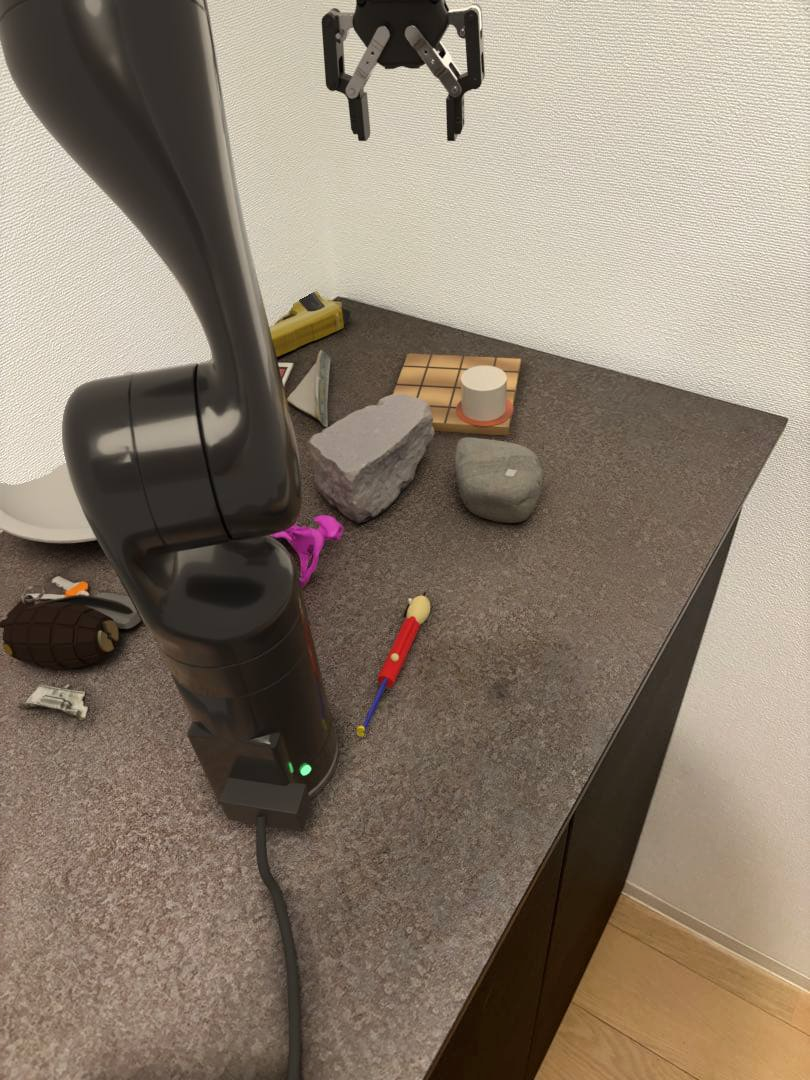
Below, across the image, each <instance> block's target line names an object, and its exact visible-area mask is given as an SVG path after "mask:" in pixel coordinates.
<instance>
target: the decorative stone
mask: <svg viewBox="0 0 810 1080" xmlns="http://www.w3.org/2000/svg"><path fill="white" fill-rule="evenodd" d="M432 422H433V415H432V412H431V409H430V406H429V404H428V403H426V402H425V401H423V400H422V399H419V398H416V397H411V396H409V395H406V394H393V393H392V394H389V395H387V396H384V397H382V398H379V400H378V403H377V404H376V405H375V404H374V405H373V404H371V405H370V404H369V405H366V406H365V407H363V408H362V409H357V410H355V411H353V412H350V413H349V414H347V415H346V416H344V417H343V418H341V419H339V420H337V421H335V422H334V423H333V424H332V423H331V425H330V426H328V427H325V428H323V429H322V430H321V432H317V433H315V434H313V435H312V436H311V437H310V439H309V440H308V442H307V447H308V452H309V455H310V457H311V459H310V460H311V462H312V466H313V469H314V484H315V486H316V488H317V490H318V491H319V494H320V495H321V497H323V498H324V500H325V501H326V502H328V503H329V505H330V506H331V507H332V508H335V509H336V510H337V511H338V512H340V513H341V514H342V515H343V516H344V517H345V518H347V519H349V520H350V521H352V522H354V523H356V524H362V523H365V522H368V521H369V520H371V519H374V518H376V517H377V516H378V515H380V514H381V513H382V512H384V511H386V510H388V509H389V507H390V506H391V505H393V503H394V502H395V501H396V500H397V499H398V498H399V496H400V494H401V493H402V492H403V491H404V490H405V489H407V487H408V486H409V485H411V484H412V483H413V481H414V479H415V478H416V472H417V469H418V465H419V464H420V461H421V460H422V459H423V457H424V456H425V453H426V450H427V446H428V445H429V444H430V443H431V442H432V441H433V440H434V436H435V432H436V431H434V428H433V426H432Z"/></svg>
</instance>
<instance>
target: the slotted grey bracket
mask: <svg viewBox="0 0 810 1080" xmlns="http://www.w3.org/2000/svg"><path fill="white" fill-rule="evenodd" d="M69 687H70V683H65V686H63V687H57V686H53V685H47V684H42V683H40V684H39V685H38V686H37V687H36V689H35V690H34V691H33V692H32V693H31V695H30V696H29V697H28V698H27V700H26V701H25V702H24V703H23V702H19V703H18V705H16V707H17V708H19V709H20V710H22V709H29V708H31V709H33V708H35V709H36V708H37V709H39V710H43V709H44V708H49V709H55V710H59V711H60V712H61V713H62V712H64V713H65V714H66V715H68V716H73V717H76V718H77V719H78V720H80V721H85V719H86V716H87V713H88V706H84V701H83V699H84V697H85V694H86V691H85V690H83V691H81V690H74V689H69Z"/></svg>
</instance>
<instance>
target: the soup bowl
mask: <svg viewBox="0 0 810 1080" xmlns="http://www.w3.org/2000/svg"><path fill="white" fill-rule="evenodd" d="M127 371H128V370H127ZM135 372H136V371H130V370H129V371H128V372H126V373H124V374H129V373H135ZM137 372H138V371H137ZM137 372H136V373H137ZM0 531H3V532H4V533H7V534H10V535H11V536H14V537H18V538H21V539H23V540H24V539H25V540H28V541H34V542H41V543H47V544H49V543H50V544H76V543H77V544H78V543H86V542H87V543H88V542H92V541H97V539H96V537H95V535H94V533H93V531H92V529H91V527H90V525H89V523H88V521H87V519H86V517H85V515H84V513H83V511H82V508H81V506H80V503H79V501H78V499H77V496H76V493H75V491H74V488H73V486H72V483H71V480H70V477H69V473H68V469H67V465H66V463H63V465H60V466H58V467H57V468H56V469H54V470H52V472H51V473H49V474H47V475H45V476H43V477H41V478H38V479H34V480H33V481H32V480H31V481H29V482H25V483H22V484H18V485H17V484H16V485H14V484H13V485H11V484H9V485H8V484H6V483H4V484H3V483H0Z"/></svg>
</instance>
